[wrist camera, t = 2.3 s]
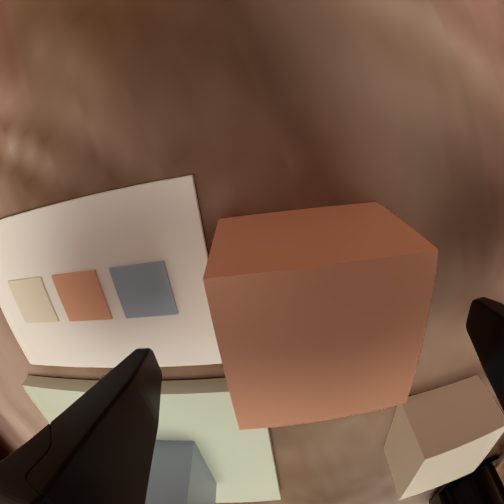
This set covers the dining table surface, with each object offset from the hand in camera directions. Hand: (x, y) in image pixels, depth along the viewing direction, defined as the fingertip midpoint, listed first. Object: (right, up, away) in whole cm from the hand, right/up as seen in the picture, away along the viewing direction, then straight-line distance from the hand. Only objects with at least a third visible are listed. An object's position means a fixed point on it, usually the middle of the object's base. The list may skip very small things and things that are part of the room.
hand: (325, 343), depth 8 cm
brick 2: (+8, -7, +7) cm, 13 cm away
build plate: (-7, -9, +7) cm, 13 cm away
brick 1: (0, +1, +3) cm, 3 cm away
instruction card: (-8, +1, +3) cm, 9 cm away
